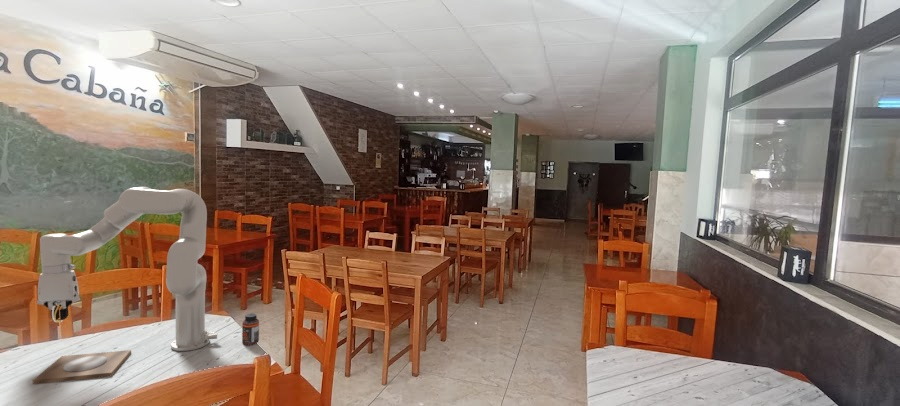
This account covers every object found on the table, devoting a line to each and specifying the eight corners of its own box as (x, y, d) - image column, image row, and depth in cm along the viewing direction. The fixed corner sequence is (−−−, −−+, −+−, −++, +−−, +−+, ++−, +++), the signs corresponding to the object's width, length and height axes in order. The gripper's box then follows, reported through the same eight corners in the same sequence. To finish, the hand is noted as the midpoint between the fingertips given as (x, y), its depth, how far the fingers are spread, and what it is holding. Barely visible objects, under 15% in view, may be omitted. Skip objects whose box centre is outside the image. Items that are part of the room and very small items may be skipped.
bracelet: (58, 325, 147) (57, 303, 147) (48, 326, 146) (46, 303, 146) (71, 318, 154) (70, 297, 153) (61, 319, 153) (60, 297, 153)
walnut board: (131, 353, 152) (131, 349, 152) (111, 376, 136) (111, 371, 136) (61, 359, 145) (61, 355, 145) (32, 384, 129) (32, 379, 129)
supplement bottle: (238, 343, 164) (238, 315, 163) (251, 338, 170) (251, 311, 169) (250, 347, 162) (250, 318, 161) (262, 341, 168) (262, 313, 167)
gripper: (88, 264, 155) (91, 313, 156) (34, 267, 149) (38, 317, 151) (79, 269, 148) (82, 320, 149) (21, 272, 142) (25, 325, 144)
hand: (60, 318), depth 150 cm, fingers closed on bracelet, 1 cm apart
